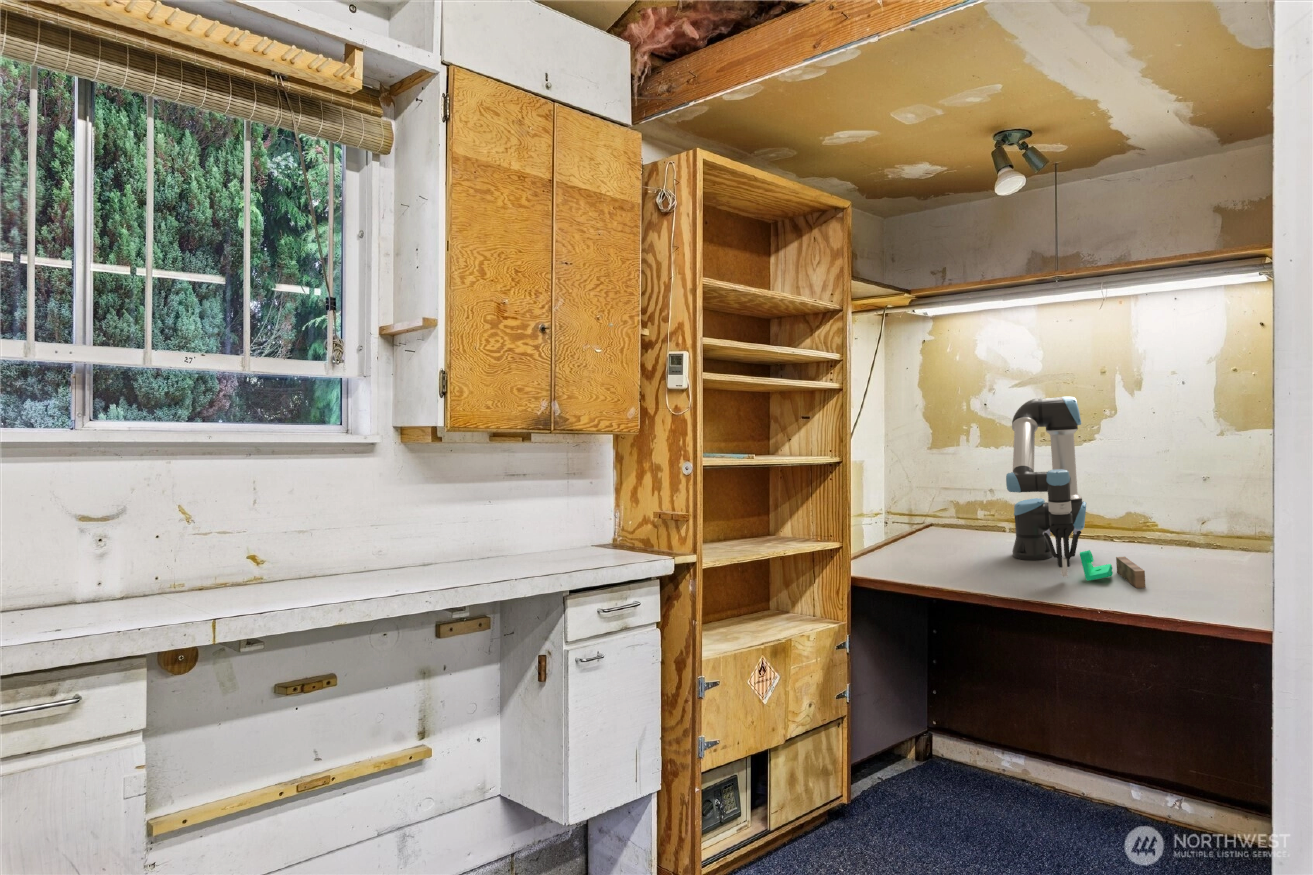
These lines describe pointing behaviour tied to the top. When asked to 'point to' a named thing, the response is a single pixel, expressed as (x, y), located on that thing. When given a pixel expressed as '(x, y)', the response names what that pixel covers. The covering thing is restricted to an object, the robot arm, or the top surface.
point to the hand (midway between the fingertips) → (1064, 575)
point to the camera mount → (1091, 571)
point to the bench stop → (1131, 572)
